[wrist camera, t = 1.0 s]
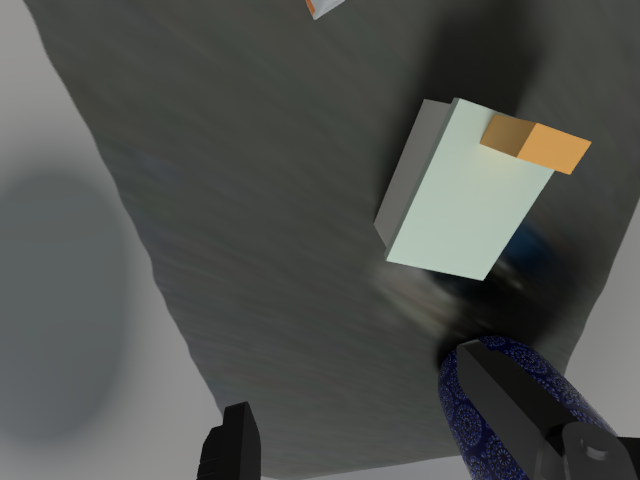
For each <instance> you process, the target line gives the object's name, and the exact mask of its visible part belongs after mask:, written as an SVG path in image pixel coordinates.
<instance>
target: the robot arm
mask: <svg viewBox="0 0 640 480" xmlns="http://www.w3.org/2000/svg"><path fill="white" fill-rule="evenodd" d="M457 378H458V381H459V384H460V386H461V388H462V390H463V391H464V393H465V394H466V396H467V397H468V398H469V400H470V401H471V402H472V404H473V405H474V406H475V407H476V409H477V410H478V411H479V413H480V414H481V415H482V417H483V418H484V419H485V421H486V422H487V423H488V425H489V426H490V427H491V429H492V430H493V431H494V433H495V434H496V435H497V437H498V438H499V439H500V441H501V442H502V443H503V445H504V446H505V447H506V449H507V450H508V451H509V453H510V454H511V455H512V457H513V458H514V459H515V460H516V462H517V463H518V464H519V466H520V467H521V468H522V470H523V471H524V472H525V474H526V475H527V476H528V478H529V479H530V480H640V438H631V437H616V436H614V435H612V434H611V433H610V432H608V431H606V430H605V429H603V428H601V427H599V426H596V425H594V424H590V423H586V422H581V421H580V420H578V419H577V418H576V417H575V416H574V415H573V414H572V413H571V412H570V411H569V410H567V409H566V408H565V407H564V406H563V405H562V404H561V403H560V402H559V401H558V400H557V399H556V398H555V397H553V396H552V395H551V394H550V393H549V392H548V391H547V390H546V389H545V388H544V387H543V386H542V385H541V384H539V383H538V382H537V381H535V380H534V378H533V377H532V376H531V375H530V374H529V373H528V372H525V370H524V369H523V368H522V367H521V366H520V365H519V364H518V363H517V362H516V361H515V360H514V359H513V358H511V357H509V356H507V355H505V354H503V353H501V352H500V351H498V350H495V351H490V350H489V349H488V348H487V347H486V346H485V345H484V344H483V343H482V342H481V341H479V340H474V341H470V342H466V343H463V344H459V345H457ZM260 478H261V443H260V436H259V431H258V428H257V425H256V422H255V420H254V417H253V414H252V411H251V408H250V406H249V403H248V402H247V401H246V402H243V403H239V404H235V405H232V406H228V407H226V408H225V411H224V418H223V425H221V426H218V427H214V428H212V429H211V431H210V433H209V435H208V436H207V438H206V440H205V442H204V444H203V448H202V453H201V458H200V465H199V468H198V473H197V479H196V480H260Z"/></svg>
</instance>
